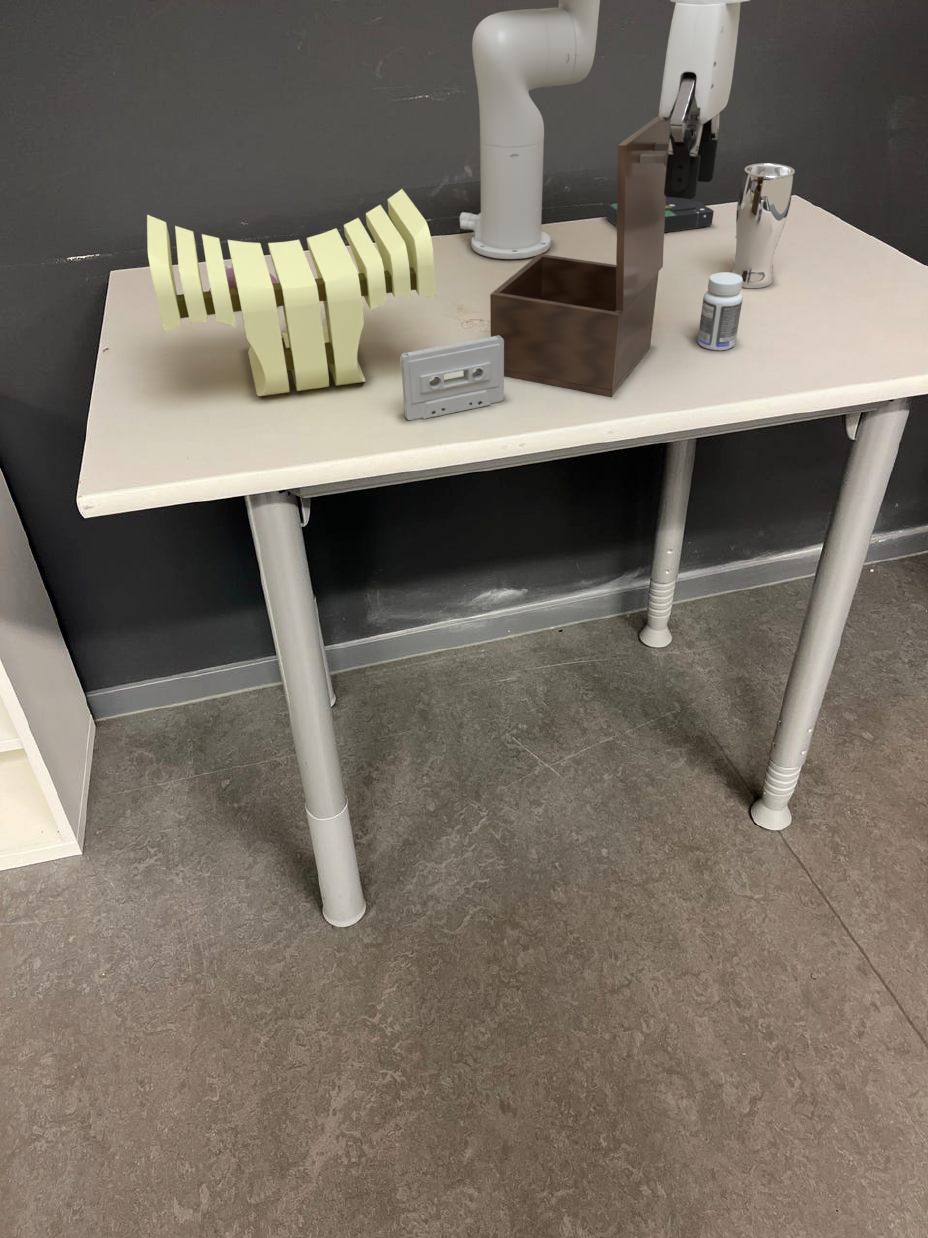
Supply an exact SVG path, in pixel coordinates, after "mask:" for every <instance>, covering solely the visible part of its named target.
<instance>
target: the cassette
mask: <svg viewBox="0 0 928 1238" xmlns="http://www.w3.org/2000/svg"><path fill="white" fill-rule="evenodd" d="M400 370H401V383H402V396H403V397H402V398H403V410H404V417H405V418H406V419H407V420H408V421H414V420H415V421H416V420H419V419H423V420H426V419H431V418H434V417H435V418H436V417H440V416H443V415H449V414H453V413H458V412H463V411H469V410H473V409H478V408H482V407H486V406H491V404H495V403H500V402H502V401H504V398H505V397H504V396H505V395H504V394H505V393H504V391H505V389H504V387H505V376H504V340H503V338H502V337H501V336H499V335H498V336H493V337H491V336H488V337H483V338H476V339H471V340H467V341H462V342H457V343H450V344H446V345H440V346H435V347H430V348H425V349H419V350H414V351H409V352H403V353H402V354H401V355H400ZM456 372H463V375H462V376H461V375H460V376H457V377H451V378H446V379H445V375H447V374H452V373H456Z"/></svg>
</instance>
